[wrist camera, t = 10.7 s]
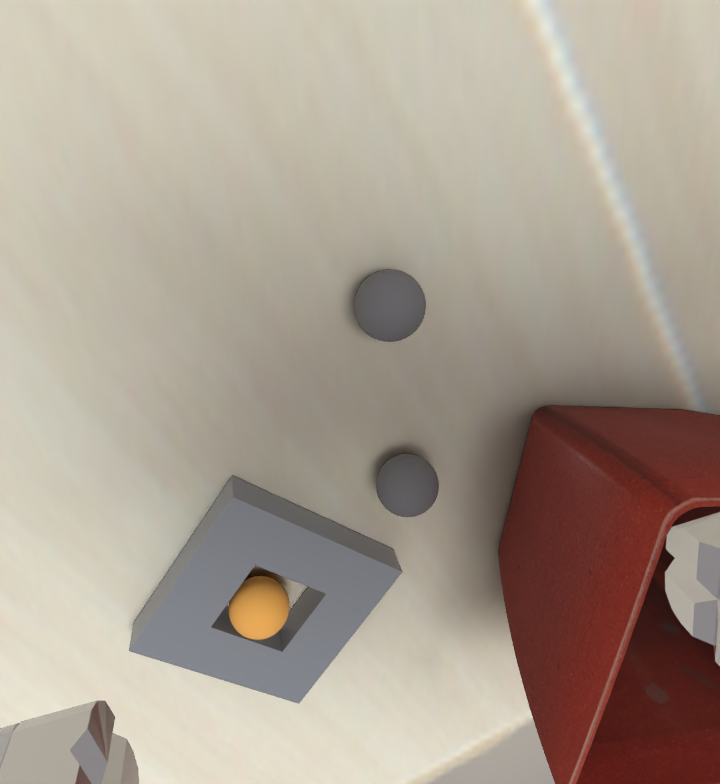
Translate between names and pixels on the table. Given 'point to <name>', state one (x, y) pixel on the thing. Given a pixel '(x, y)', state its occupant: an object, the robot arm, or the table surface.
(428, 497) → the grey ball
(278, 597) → the orange ball
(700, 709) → the plant pot
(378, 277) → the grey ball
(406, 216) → the table surface
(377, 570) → the grey square frame
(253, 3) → the table surface
